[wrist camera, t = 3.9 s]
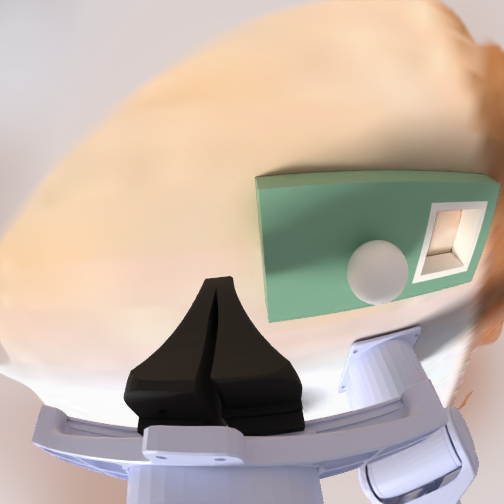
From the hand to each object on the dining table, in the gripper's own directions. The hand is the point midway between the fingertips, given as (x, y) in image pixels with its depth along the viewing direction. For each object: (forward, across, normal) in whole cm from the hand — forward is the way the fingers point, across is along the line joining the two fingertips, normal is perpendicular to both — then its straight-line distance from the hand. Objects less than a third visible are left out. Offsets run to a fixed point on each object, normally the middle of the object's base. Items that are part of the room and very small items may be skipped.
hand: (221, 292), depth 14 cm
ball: (0, -8, 0) cm, 8 cm away
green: (+4, -11, 0) cm, 12 cm away
